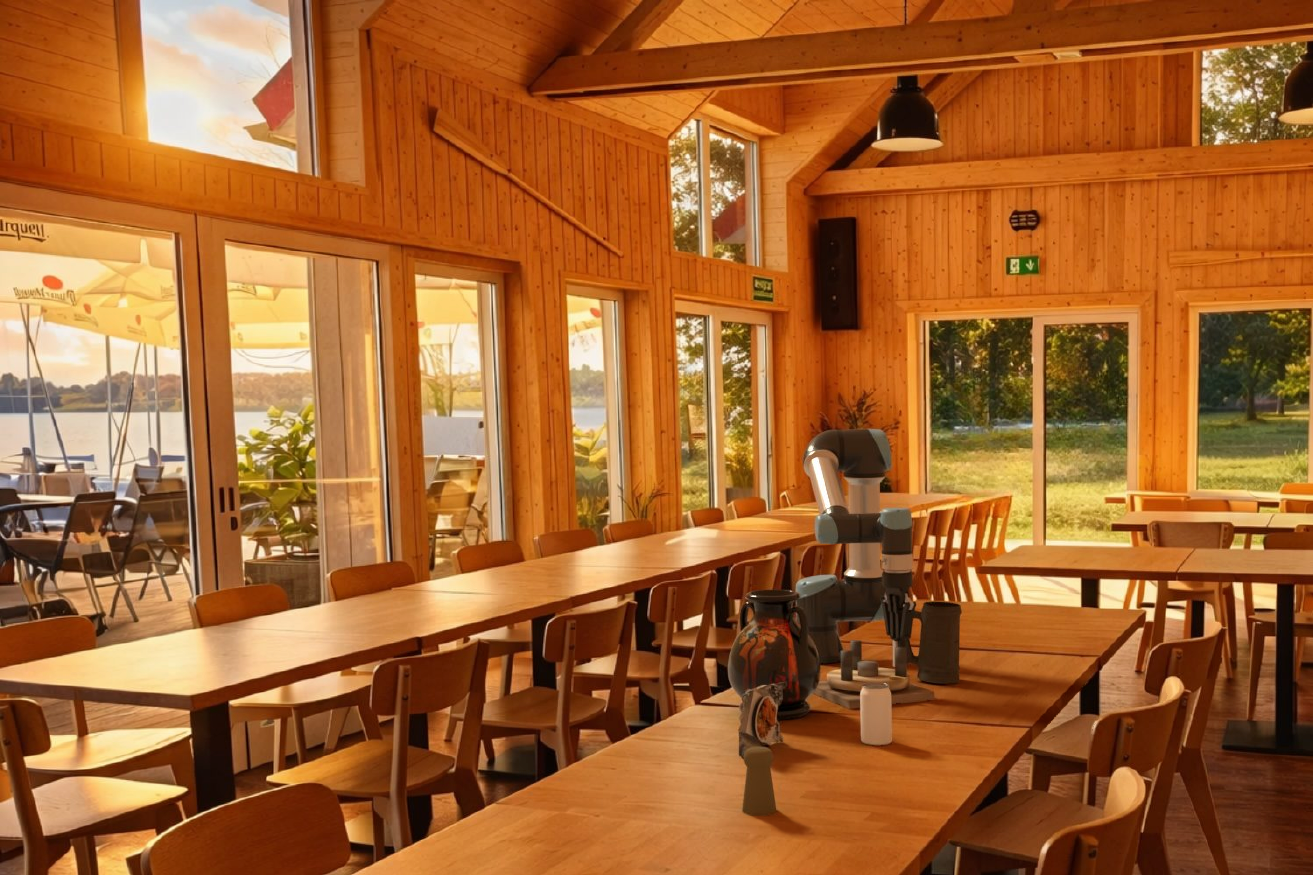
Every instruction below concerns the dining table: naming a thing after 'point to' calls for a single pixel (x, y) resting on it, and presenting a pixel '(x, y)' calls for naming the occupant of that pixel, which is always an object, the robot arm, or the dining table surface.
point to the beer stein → (937, 643)
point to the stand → (853, 697)
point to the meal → (760, 717)
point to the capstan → (868, 670)
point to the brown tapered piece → (758, 782)
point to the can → (876, 714)
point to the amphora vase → (775, 651)
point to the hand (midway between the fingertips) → (899, 666)
